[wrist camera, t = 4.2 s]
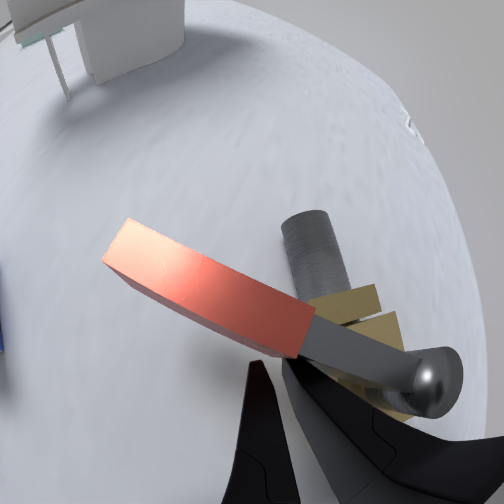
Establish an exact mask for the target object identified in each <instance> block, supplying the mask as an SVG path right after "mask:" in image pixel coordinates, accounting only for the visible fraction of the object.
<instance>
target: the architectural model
mask: <svg viewBox="0 0 504 504" xmlns="http://www.w3.org/2000/svg"><path fill="white" fill-rule="evenodd" d="M7 2H8V7H9V11H10V15H11V18H12V22H13V25H14V28H15V34H14V37H15V40H16V43H17V44H20V43H22V42H24V41H26V40H27V39H29V38H31V37H32V36H34V35H36V34H38V33H39V32H41V31H43V32H44V36H45V39H46V43H47V46H48V49H49V52H50V55H51V58H52V61H53V64H54V67H55V70H56V73H57V75H58V78H59V81H60V83H61V86H62V89H63V91H64V94H65V96H66V99H67V101H68V100H70V99H71V98H70V94H69V90H68V87H67V84H66V82H65V79H64V76H63V73H62V70H61V67H60V64H59V61H58V58H57V55H56V52H55V49H54V46H53V42H52V39H51V35H50V34H52V33H54V32H56V31H58V30H60V29H62V28H64V27H66V26H68V25H70V24H72V23H74V27H75V31H76V36H77V40H78V44H79V48H80V51H81V55H82V59H83V62H84V66H85V69H86V73H87V74H93V75H94V78H95V81H96V85H100V84H102V83H104V82H106V81H108V80H111V79H113V78H115V77H117V76H120V75H122V74H125V73H127V72H130V71H132V70H135V69H137V68H140V67H143V66H146V65H148V64H151V63H154V62H157V61H159V60H161V59H163V58H165V57H167V56H169V55H171V54H172V53H174V52H175V51H177V50H178V49H179V48H180V47H181V46H182V45H183V43H184V9H185V0H7Z"/></svg>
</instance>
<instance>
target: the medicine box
mask: <svg viewBox="0 0 504 504" xmlns="http://www.w3.org/2000/svg"><path fill="white" fill-rule="evenodd" d="M2 352H3V342H2V335H1V328H0V353H2Z"/></svg>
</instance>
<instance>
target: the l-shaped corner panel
mask: <svg viewBox="0 0 504 504" xmlns="http://www.w3.org/2000/svg"><path fill="white" fill-rule="evenodd" d="M62 30H63V28H62V29H60V30H58V31H56V32H54V33H52V34H55V33H57V32H60V31H62ZM52 34H50V35H52ZM42 38H45V36H44V32H43V31H41V32H39V33H38V34H36V35H34V36H32V37H31V38H29V39H27V40H26V41H24V42H22V43H21V45H22V47H25V46H27V45H29V44H31V43H33V42H36V41H38V40H40V39H42Z"/></svg>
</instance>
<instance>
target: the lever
mask: <svg viewBox="0 0 504 504" xmlns="http://www.w3.org/2000/svg"><path fill="white" fill-rule="evenodd" d="M102 261H103V262H104V263H105V264H106V265H107V266H108V267H109V268H110V269H112V270H113V271H114V272H115V273H116V274H117V275H118V276H119V277H121V278H122V279H123V280H124V281H125V282H126V283H128V284H129V285H130V286H131V287H132V288H134V289H136V290H137V291H139V292H141V293H143V294H144V295H146V296H148V297H150V298H152V299H153V300H155V301H157V302H159V303H161V304H162V305H164V306H166V307H168V308H170V309H172V310H174V311H175V312H177V313H179V314H181V315H183V316H185V317H187V318H189V319H191V320H193V321H195V322H197V323H199V324H201V325H203V326H205V327H207V328H209V329H211V330H213V331H215V332H217V333H219V334H221V335H223V336H226V337H228V338H230V339H232V340H234V341H236V342H239V343H241V344H243V345H245V346H247V347H250V348H252V349H254V350H257V351H259V352H261V353H263V354H266V355H268V356H271V357H277V358H293V359H296V358H300V359H304V360H306V361H308V362H309V363H311V364H312V365H313V366H315V367H316V368H318V369H319V370H321V371H322V372H323V373H325V374H328V375H331V376H334V377H336V378H339V379H342V380H345V381H348V382H351V383H354V384H357V385H360V386H363V387H364V390H365V394H366V397H367V399H368V401H369V402H370V403H371V404H372V405H373V406H375V407H377V408H381V409H385V410H389V411H394V412H398V413H403V414H408V415H413V416H418V417H424V418H429V419H437V418H440V417H442V416H444V415H445V414H446V413H448V412H449V411H450V410H451V408H452V407H453V406H454V404H455V403H456V401H457V399H458V397H459V394H460V392H461V388H462V384H463V365H462V362H461V359H460V357H459V355H458V353H457V352H456V351H455V350H454V349H452V348H450V347H438V348H431V349H423V350H414V351H405V352H404V351H401V350H399V349H396V348H394V347H391V346H389V345H386V344H384V343H382V342H379V341H377V340H374V339H372V338H369V337H367V336H365V335H362V334H360V333H358V332H355V331H353V330H351V329H348V328H346V327H343V326H341V325H339V324H337V323H334V322H332V321H330V320H327V319H325V318H323V317H320V316H318V315H316V314H314V313H315V310H316V307H313V306H311V305H309V304H307V303H304V302H302V301H300V300H298V299H296V298H293V297H291V296H289V295H287V294H285V293H282V292H280V291H278V290H276V289H274V288H272V287H269V286H267V285H265V284H263V283H261V282H259V281H256V280H254V279H252V278H250V277H248V276H246V275H244V274H242V273H239V272H237V271H235V270H233V269H231V268H229V267H227V266H225V265H223V264H220V263H218V262H216V261H214V260H212V259H210V258H208V257H206V256H204V255H202V254H200V253H198V252H196V251H193V250H191V249H189V248H187V247H185V246H183V245H181V244H179V243H177V242H175V241H173V240H171V239H169V238H167V237H165V236H163V235H161V234H159V233H157V232H155V231H153V230H151V229H149V228H147V227H145V226H143V225H141V224H139V223H137V222H135V221H133V220H131V219H129V218H128V219H127V221H126V222H125V224H124V225H123V227H122V228H121V230H120V231H119V233H118V234H117V236H116V238H115V239H114V241H113V242H112V244H111V246H110V247H109V249H108V251H107V252H106V254H105V256H104V257H103V259H102Z"/></svg>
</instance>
